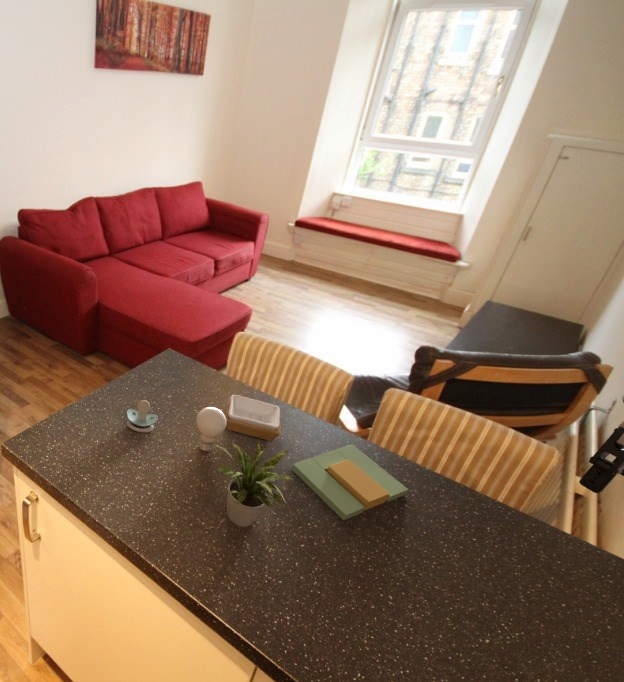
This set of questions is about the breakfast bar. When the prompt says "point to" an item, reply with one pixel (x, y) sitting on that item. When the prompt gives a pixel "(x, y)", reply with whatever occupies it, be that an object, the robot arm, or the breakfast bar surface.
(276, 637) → the breakfast bar surface
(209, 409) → the lightbulb
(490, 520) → the breakfast bar surface
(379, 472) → the green u-shaped block
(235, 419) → the soap dish
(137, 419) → the pacifier
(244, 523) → the house plant
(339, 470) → the ochre pad
